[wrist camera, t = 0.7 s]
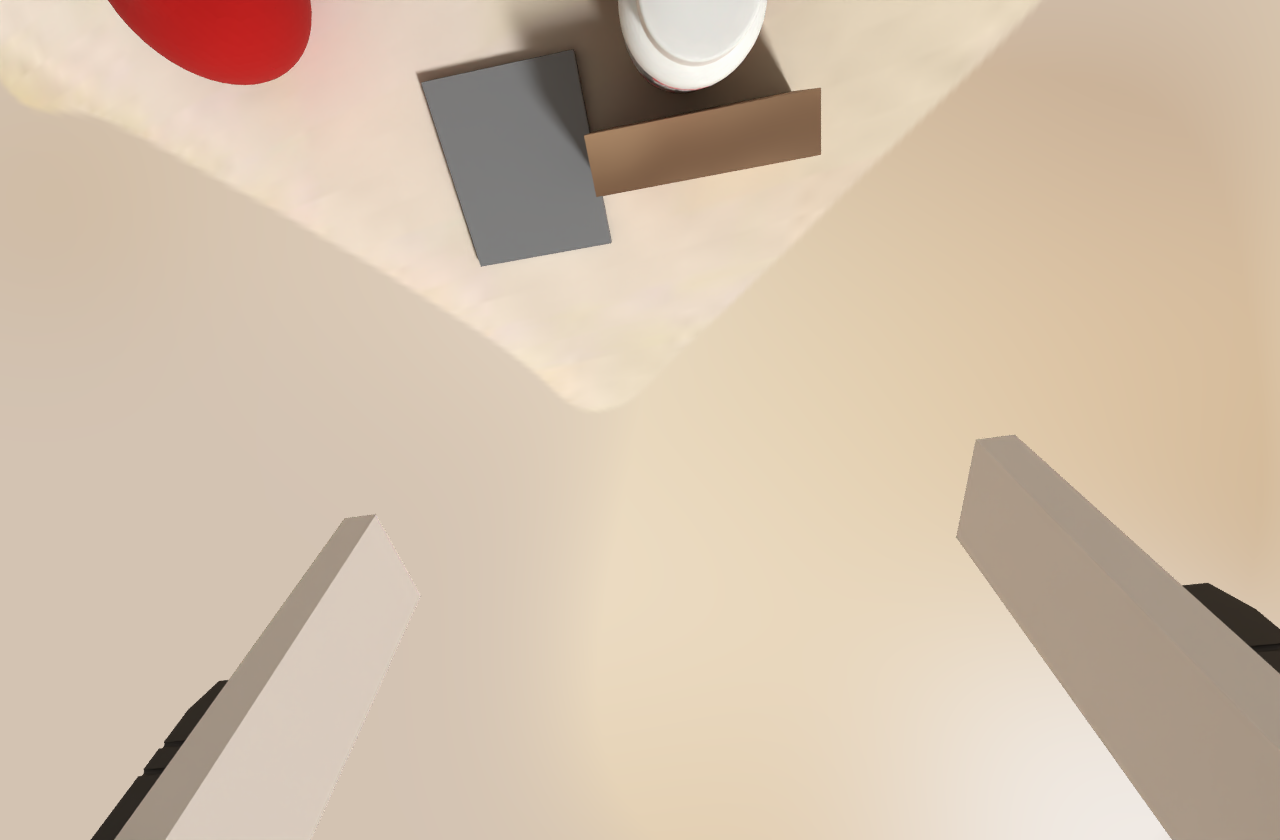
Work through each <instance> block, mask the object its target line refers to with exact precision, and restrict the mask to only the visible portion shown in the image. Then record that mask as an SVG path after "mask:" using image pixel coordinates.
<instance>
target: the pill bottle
mask: <svg viewBox="0 0 1280 840" xmlns="http://www.w3.org/2000/svg"><path fill="white" fill-rule="evenodd" d="M766 6H767V0H618V10H619V18H620V24H621V29H622V34H623V36H624V40H625V44H626V47H627V50H628V53H629V55H630V58H631V60H632V62H633V63H634V65H635V67H636V68H637V70H638V71H639V72H640V74H641V75H642V76H643V77H644V78H645V79H646V80H647V81H648V82H649V83H651V84H652V85H654V86H656V87H658V88H660V89H662V90H665V91H668V92H673V93H689V92H693V91H696V90H699V89H702V88H705V87H708V86H711V85H713V84H715V83H717V82H719V81H721V80H722V79H724V78H725V77H727V76H728V75H729V74H730V73H732V72H733V71H734V70H735V69H736V68H737V67H738V66H739V65H740V64H741V63H742V61H743V60H744V59H745V57H746V56H747V54H748V53H749V51H750V50H751V48H752V47H753V45H754V43H755V41H756V39H757V37H758V35H759V33H760V30H761V27H762V24H763V20H764V17H765V11H766Z"/></svg>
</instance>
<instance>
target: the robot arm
mask: <svg viewBox="0 0 1280 840" xmlns="http://www.w3.org/2000/svg"><path fill="white" fill-rule="evenodd" d="M956 538H957V539H958V540H959V542H960V543H961V545H962V546H963V547H964V549H965V550H966V552H967V553H968V554H969V556H970V557H971V559H972V560H973V561H974V563H975V564H976V566H977V567H978V568H979V570H980V571H981V573H982V574H983V575H984V577H985V578H986V579H987V581H988V582H989V584H990V585H991V587H992V588H993V589H994V591H995V592H996V594H997V595H998V596H999V598H1000V599H1001V601H1002V602H1003V603H1004V605H1005V606H1006V608H1007V609H1008V610H1009V612H1010V613H1011V614H1012V616H1013V617H1014V619H1015V620H1016V622H1017V623H1018V624H1019V626H1020V627H1021V629H1022V630H1023V631H1024V633H1025V634H1026V636H1027V637H1028V638H1029V640H1030V641H1031V643H1032V644H1033V645H1034V647H1035V648H1036V650H1037V651H1038V652H1039V654H1040V655H1041V657H1042V658H1043V659H1044V661H1045V662H1046V664H1047V665H1048V666H1049V668H1050V669H1051V671H1052V672H1053V673H1054V675H1055V676H1056V678H1057V679H1058V680H1059V682H1060V683H1061V684H1062V686H1063V687H1064V689H1065V690H1066V691H1067V693H1068V694H1069V696H1070V697H1071V699H1072V700H1073V701H1074V703H1075V704H1076V706H1077V707H1078V708H1079V710H1080V711H1081V713H1082V714H1083V715H1084V717H1085V718H1086V720H1087V721H1088V722H1089V724H1090V725H1091V727H1092V728H1093V730H1094V731H1095V732H1096V734H1097V735H1098V736H1099V738H1100V739H1101V741H1102V742H1103V743H1104V745H1105V746H1106V748H1107V749H1108V750H1109V752H1110V753H1111V755H1112V756H1113V757H1114V759H1115V760H1116V762H1117V763H1118V764H1119V766H1120V767H1121V769H1122V770H1123V772H1124V773H1125V774H1126V776H1127V777H1128V779H1129V780H1130V781H1131V783H1132V784H1133V786H1134V787H1135V788H1136V790H1137V791H1138V793H1139V794H1140V795H1141V797H1142V798H1143V799H1144V801H1145V802H1146V804H1147V805H1148V807H1149V808H1150V809H1151V811H1152V812H1153V814H1154V815H1155V816H1156V818H1157V819H1158V821H1159V822H1160V823H1161V825H1162V826H1163V828H1164V829H1165V830H1166V832H1167V833H1168V835H1169V836H1170V837H1171V839H1172V840H1280V629H1279V628H1278V627H1277V626H1275V625H1274V624H1273V623H1272V622H1270V621H1269V620H1268V619H1267V618H1266V617H1264V616H1263V615H1262V614H1261V613H1260V612H1258V611H1257V610H1256V609H1254V608H1253V607H1251V606H1249V605H1247V604H1245V603H1243V602H1242V601H1240V600H1238V599H1236V598H1235V597H1233V596H1231V595H1229V594H1227V593H1225V592H1224V591H1222V590H1220V589H1218V588H1216V587H1214V586H1213V585H1211V584H1209V583H1203V584H1193V585H1181V584H1180V583H1179V582H1177V581H1176V580H1175V579H1174V578H1173V577H1172V576H1171V575H1170V574H1169V573H1167V572H1166V571H1165V570H1164V569H1163V568H1162V567H1161V566H1160V565H1159V564H1158V563H1156V562H1155V561H1154V560H1153V559H1152V558H1151V557H1150V556H1149V555H1148V554H1146V553H1145V552H1144V551H1143V550H1142V549H1141V548H1140V547H1139V546H1137V545H1136V544H1135V543H1134V542H1133V541H1132V540H1131V539H1130V538H1129V537H1128V536H1126V535H1125V534H1124V533H1123V532H1122V531H1121V530H1120V529H1119V528H1117V527H1116V526H1115V525H1114V524H1113V523H1112V522H1111V521H1110V520H1109V519H1108V518H1107V517H1105V516H1104V515H1103V514H1102V513H1101V512H1100V511H1099V510H1097V508H1095V507H1094V506H1093V505H1092V504H1091V503H1090V502H1089V501H1088V500H1087V499H1085V498H1084V497H1083V496H1082V495H1081V494H1080V493H1079V492H1078V491H1077V490H1075V489H1074V488H1073V487H1072V486H1071V485H1070V484H1069V483H1068V482H1067V481H1066V480H1064V479H1063V478H1062V477H1061V476H1060V475H1059V474H1058V473H1057V472H1056V471H1054V470H1053V469H1052V468H1051V467H1050V466H1049V465H1048V464H1047V463H1046V462H1044V461H1043V460H1042V459H1041V458H1040V457H1039V456H1038V455H1037V454H1036V453H1035V452H1033V451H1032V450H1031V449H1030V448H1029V447H1028V446H1027V445H1026V444H1025V443H1023V442H1022V441H1021V440H1020V439H1019V438H1018V437H1017V436H1016V435H1009V436H1001V437H993V438H986V439H978V440H976V442H975V447H974V452H973V457H972V462H971V467H970V472H969V477H968V482H967V486H966V491H965V496H964V501H963V506H962V511H961V516H960V522H959V526H958V531H957V536H956ZM420 597H421V595H420V593H419V591H418V589H417V587H416V586H415V584H414V582H413V580H412V579H411V576H410V575H409V573H408V571H407V569H406V567H405V566H404V564H403V562H402V560H401V558H400V557H399V555H398V553H397V551H396V549H395V548H394V546H393V544H392V542H391V540H390V539H389V537H388V535H387V533H386V531H385V530H384V528H383V526H382V524H381V522H380V520H379V519H378V517H377V515H376V514H375V515H367V516H359V517H352V518H345V519H344V520H343V521H342V523H341V524H340V526H339V527H338V529H337V530H336V531H335V533H334V534H333V535H332V537H331V538H330V540H329V541H328V542H327V544H326V545H325V547H324V548H323V549H322V551H321V552H320V553H319V555H318V556H317V558H316V559H315V560H314V562H313V563H312V565H311V566H310V568H309V569H308V570H307V572H306V573H305V574H304V576H303V577H302V579H301V580H300V581H299V583H298V584H297V586H296V587H295V588H294V590H293V591H292V593H291V594H290V595H289V597H288V598H287V600H286V601H285V602H284V604H283V605H282V606H281V608H280V610H279V611H278V612H277V614H276V615H275V616H274V618H273V619H272V621H271V622H270V623H269V625H268V626H267V627H266V629H265V630H264V632H263V633H262V635H261V636H260V637H259V639H258V640H257V641H256V643H255V644H254V646H253V647H252V648H251V650H250V651H249V652H248V654H247V655H246V657H245V658H244V659H243V661H242V663H241V664H240V665H239V667H238V668H237V669H236V671H235V672H234V674H233V675H232V676H231V678H230V679H229V680H224V681H219V682H218V683H217V684H215V685H214V686H213V687H212V688H211V689H210V690H209V691H208V692H207V693H206V694H205V695H204V696H203V697H202V698H200V699H199V700H198V701H197V702H196V703H195V704H194V705H193V706H192V707H191V708H190V709H189V710H188V711H187V712H186V713H185V715H184V716H183V717H182V719H181V720H180V722H179V723H178V724H177V726H176V727H175V728H174V729H173V731H172V732H171V734H170V735H169V736H168V738H167V739H166V740H165V741H164V743H165V745H164V747H163V748H162V749H158V751H157V752H156V753H155V755H154V756H153V757H152V759H151V760H150V761H149V763H148V764H147V765H146V767H145V768H144V774H143V775H142V776H139V777H138V778H137V779H136V780H135V781H134V783H133V784H132V786H131V787H130V788H129V790H128V791H127V792H126V794H125V795H124V796H123V798H122V799H121V800H120V802H119V803H118V804H117V806H116V807H115V808H114V810H113V811H112V812H111V814H110V815H109V816H108V818H107V819H106V820H105V822H104V823H103V824H102V826H101V827H100V828H99V830H98V831H97V832H96V834H95V835H94V836H93V838H92V839H91V840H311V839H312V837H313V835H314V832H315V830H316V828H317V826H318V823H319V821H320V819H321V817H322V814H323V812H324V810H325V808H326V806H327V803H328V801H329V799H330V797H331V794H332V792H333V790H334V788H335V786H336V783H337V781H338V779H339V777H340V775H341V772H342V770H343V768H344V766H345V763H346V761H347V759H348V757H349V755H350V752H351V750H352V748H353V746H354V743H355V741H356V739H357V737H358V735H359V732H360V730H361V728H362V726H363V724H364V721H365V719H366V717H367V714H368V712H369V710H370V708H371V706H372V704H373V701H374V699H375V697H376V695H377V692H378V690H379V688H380V686H381V684H382V681H383V679H384V677H385V675H386V672H387V670H388V668H389V666H390V663H391V661H392V659H393V657H394V655H395V652H396V650H397V648H398V646H399V644H400V641H401V639H402V637H403V635H404V633H405V630H406V628H407V626H408V624H409V621H410V619H411V617H412V615H413V613H414V610H415V608H416V606H417V604H418V601H419V599H420Z"/></svg>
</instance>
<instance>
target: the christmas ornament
mask: <svg viewBox="0 0 1280 840" xmlns="http://www.w3.org/2000/svg"><path fill="white" fill-rule="evenodd" d="M108 1H109V2H110V4H111V5H112V6H113V8H114V9H115V11H116V12H117V13H118V14H119V16H120V17H121V18H122V19H123V20H124V22H125V23H126V24H127V25H128V26H129V27H130V28H131V29H132V30H133V31H134V32H135V33H136V34H137V35H138V36H139V37H140V38H141V39H142V40H143V41H144V42H145V43H146V44H148V45H149V46H150V47H152V48H153V49H154V50H155V51H157V52H158V53H159V54H161V55H162V56H164V57H165V58H167V59H168V60H170V61H171V62H173V63H175V64H176V65H178V66H180V67H182V68H183V69H185V70H188V71H190V72H192V73H194V74H196V75H199V76H202V77H204V78H207V79H210V80H214V81H218V82H222V83H228V84H235V85H253V84H259V83H264V82H268V81H271V80H273V79H276V78H278V77H280V76H282V75H283V74H285V73H286V72H287V71H289V70H290V69H291V68H292V67H293V66H294V65H295V64H296V63H297V62H298V60H299V59H300V57H301V56H302V54H303V52H304V50H305V48H306V46H307V43H308V40H309V35H310V30H311V15H312V11H311V2H310V0H108Z"/></svg>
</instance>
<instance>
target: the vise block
mask: <svg viewBox="0 0 1280 840" xmlns="http://www.w3.org/2000/svg"><path fill="white" fill-rule="evenodd" d="M584 138H585V143H586V148H587V153H588V158H589V163H590V168H591V173H592V178H593V183H594V188H595V193H596V197H600V196H605V195H611V194H616V193H621V192H626V191H632V190H637V189H642V188H647V187H653V186H658V185H663V184H669V183H674V182H679V181H684V180H690V179H695V178H700V177H705V176H711V175H716V174H721V173H727V172H732V171H737V170H742V169H748V168H753V167H758V166H764V165H769V164H774V163H779V162H785V161H790V160H795V159H800V158H806V157H811V156H816V155H821V88H815V89H807V90H799V91H791V92H787V93H782V94H777V95H772V96H767V97H762V98H757V99H752V100H747V101H742V102H737V103H732V104H727V105H722V106H717V107H712V108H707V109H702V110H697V111H692V112H688V113H683V114H678V115H673V116H668V117H663V118H658V119H653V120H648V121H643V122H638V123H633V124H628V125H623V126H618V127H613V128H608V129H603V130H598V131H594V132H591V133H589V134H586V135H584Z"/></svg>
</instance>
